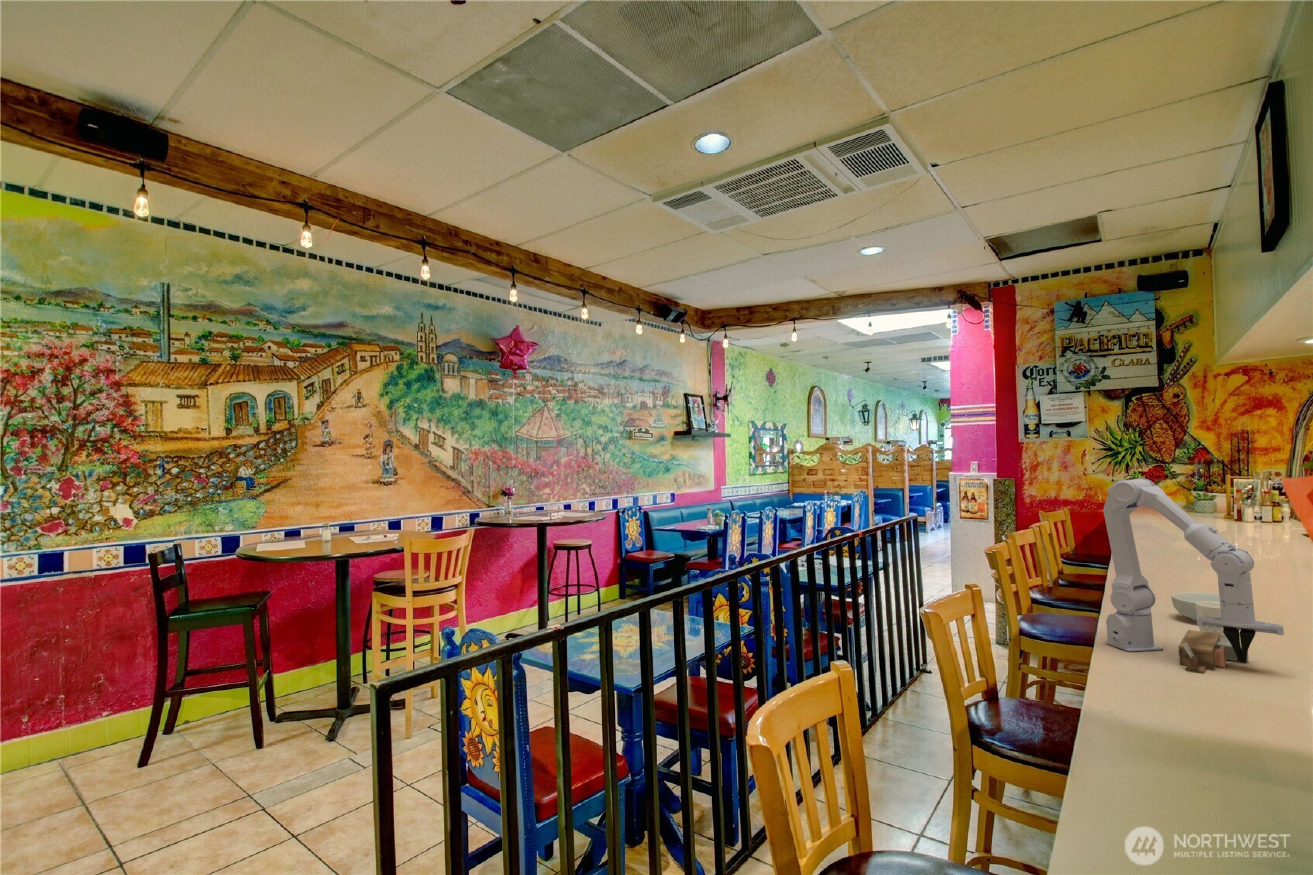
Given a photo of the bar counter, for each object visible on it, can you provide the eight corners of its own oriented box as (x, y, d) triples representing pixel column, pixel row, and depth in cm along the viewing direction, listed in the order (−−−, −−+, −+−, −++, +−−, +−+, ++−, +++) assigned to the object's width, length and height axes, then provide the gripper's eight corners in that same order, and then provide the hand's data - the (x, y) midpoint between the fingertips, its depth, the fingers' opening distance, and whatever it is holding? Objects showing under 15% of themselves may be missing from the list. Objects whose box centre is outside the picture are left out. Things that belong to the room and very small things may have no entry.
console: (1221, 651, 154) (1219, 633, 154) (1212, 674, 139) (1210, 654, 139) (1189, 647, 158) (1188, 629, 158) (1177, 669, 143) (1176, 649, 143)
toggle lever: (1199, 660, 143) (1187, 641, 144) (1198, 663, 141) (1186, 644, 142) (1194, 661, 143) (1182, 643, 145) (1193, 664, 142) (1181, 645, 143)
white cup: (1247, 647, 156) (1243, 608, 156) (1211, 647, 157) (1208, 608, 158) (1225, 639, 164) (1222, 601, 164) (1191, 638, 165) (1188, 601, 166)
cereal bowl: (1161, 620, 184) (1159, 596, 185) (1191, 612, 191) (1188, 589, 192) (1233, 632, 169) (1230, 606, 169) (1262, 623, 176) (1259, 598, 176)
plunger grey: (1248, 658, 147) (1247, 642, 148) (1247, 662, 144) (1245, 646, 145) (1211, 653, 152) (1209, 637, 152) (1209, 657, 149) (1208, 641, 149)
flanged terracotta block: (1226, 662, 145) (1224, 646, 145) (1224, 667, 142) (1223, 650, 142) (1189, 657, 150) (1187, 641, 150) (1187, 661, 147) (1185, 645, 147)
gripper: (1281, 602, 140) (1287, 663, 139) (1197, 595, 150) (1202, 651, 150) (1280, 608, 135) (1286, 671, 134) (1193, 600, 145) (1199, 658, 145)
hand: (1242, 661), depth 142 cm, fingers closed
